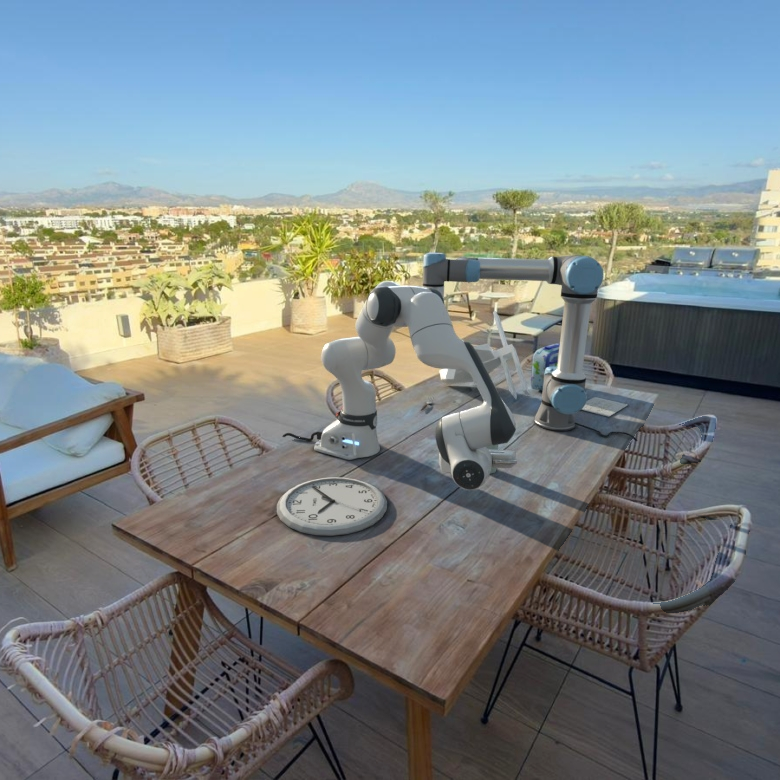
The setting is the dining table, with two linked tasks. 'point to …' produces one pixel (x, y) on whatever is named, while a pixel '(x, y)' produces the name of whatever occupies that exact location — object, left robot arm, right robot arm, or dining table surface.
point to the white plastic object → (490, 363)
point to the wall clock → (331, 506)
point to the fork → (427, 403)
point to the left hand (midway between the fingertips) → (478, 451)
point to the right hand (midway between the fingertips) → (430, 357)
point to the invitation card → (603, 406)
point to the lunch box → (543, 364)
